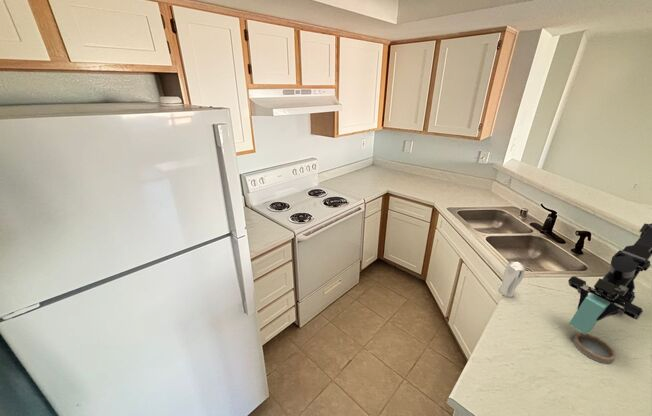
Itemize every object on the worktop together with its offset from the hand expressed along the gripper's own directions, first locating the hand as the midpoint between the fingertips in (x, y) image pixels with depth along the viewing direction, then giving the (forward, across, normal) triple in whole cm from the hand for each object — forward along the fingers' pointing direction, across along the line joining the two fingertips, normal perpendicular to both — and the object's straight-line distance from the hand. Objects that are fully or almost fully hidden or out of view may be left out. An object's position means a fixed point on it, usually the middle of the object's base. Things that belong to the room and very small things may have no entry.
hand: (587, 314), depth 92 cm
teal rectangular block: (+4, 0, +6) cm, 7 cm away
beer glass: (+7, -26, +11) cm, 29 cm away
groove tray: (+8, +5, +10) cm, 14 cm away
